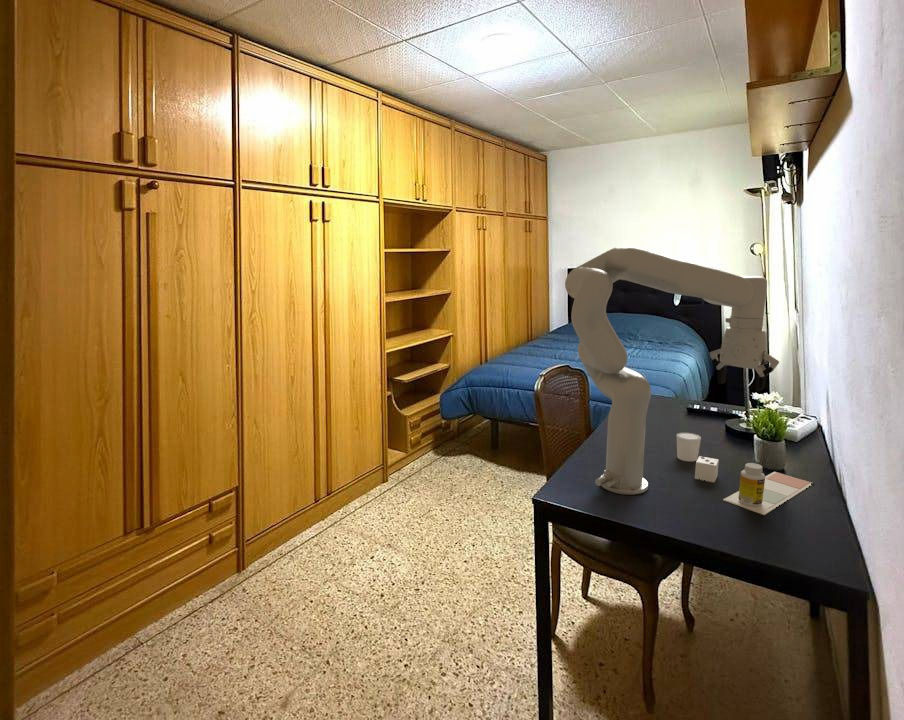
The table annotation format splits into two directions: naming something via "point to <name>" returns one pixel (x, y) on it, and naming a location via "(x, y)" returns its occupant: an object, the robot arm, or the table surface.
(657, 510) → the table surface
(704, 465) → the die
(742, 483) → the supplement bottle
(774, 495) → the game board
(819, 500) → the table surface
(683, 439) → the white cup
